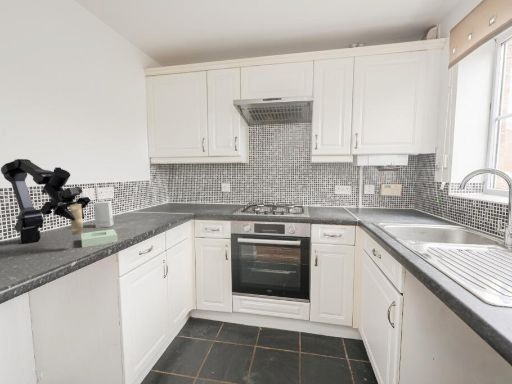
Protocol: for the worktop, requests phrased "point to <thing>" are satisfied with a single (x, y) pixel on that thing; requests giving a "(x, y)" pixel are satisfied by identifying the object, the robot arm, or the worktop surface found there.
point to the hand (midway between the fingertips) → (79, 219)
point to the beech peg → (76, 219)
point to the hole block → (98, 237)
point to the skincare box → (103, 214)
